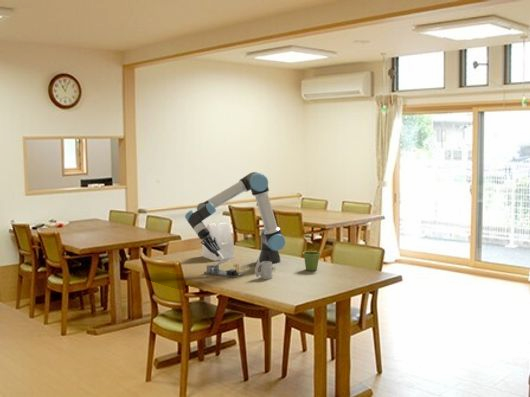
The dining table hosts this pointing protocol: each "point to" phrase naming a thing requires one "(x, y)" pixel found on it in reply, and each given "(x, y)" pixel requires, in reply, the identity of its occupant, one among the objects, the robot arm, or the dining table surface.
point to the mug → (264, 269)
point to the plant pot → (311, 260)
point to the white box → (220, 241)
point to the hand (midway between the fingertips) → (222, 259)
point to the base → (228, 273)
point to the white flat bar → (222, 262)
